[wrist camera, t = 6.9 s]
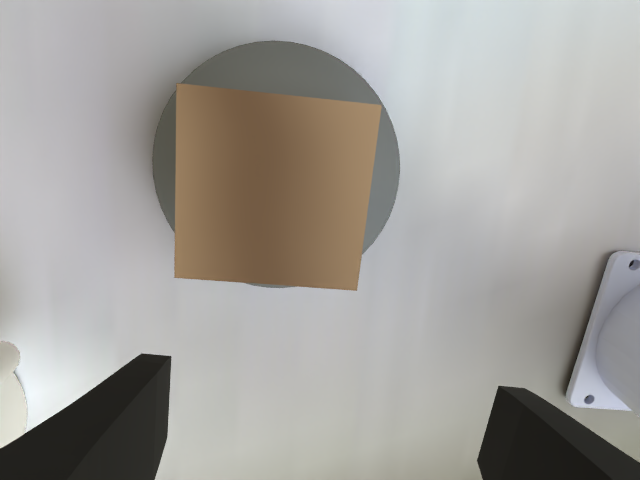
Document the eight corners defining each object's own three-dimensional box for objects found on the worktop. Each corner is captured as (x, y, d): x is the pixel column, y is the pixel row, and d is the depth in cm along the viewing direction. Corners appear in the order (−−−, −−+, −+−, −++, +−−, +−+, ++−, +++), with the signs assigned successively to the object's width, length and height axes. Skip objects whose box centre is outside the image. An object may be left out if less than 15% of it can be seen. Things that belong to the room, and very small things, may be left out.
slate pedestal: (405, 64, 18) (419, 59, 16) (371, 278, 20) (379, 297, 18) (170, 32, 17) (154, 23, 15) (164, 259, 19) (150, 277, 17)
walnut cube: (355, 104, 16) (381, 105, 11) (339, 239, 17) (356, 290, 13) (212, 89, 16) (176, 83, 11) (207, 228, 17) (174, 277, 12)
